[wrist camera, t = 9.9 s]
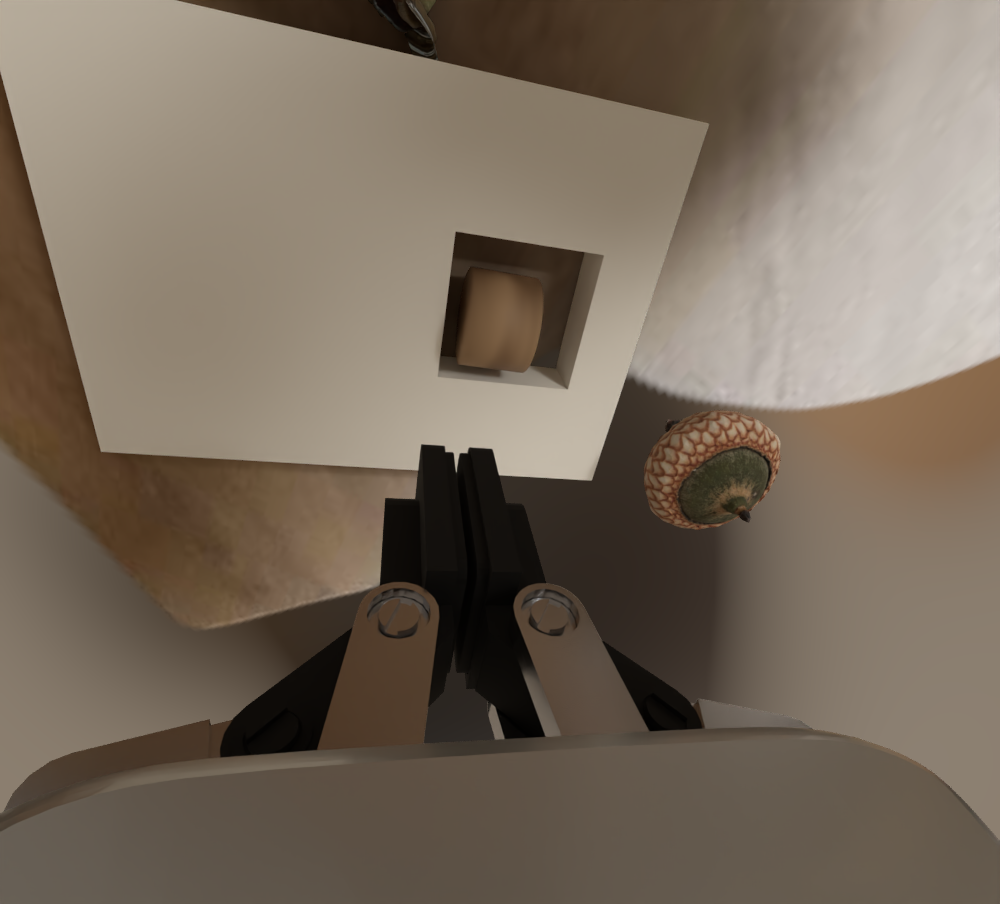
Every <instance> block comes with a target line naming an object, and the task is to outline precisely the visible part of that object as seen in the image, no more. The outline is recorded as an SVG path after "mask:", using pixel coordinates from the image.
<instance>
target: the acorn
mask: <svg viewBox="0 0 1000 904" xmlns="http://www.w3.org/2000/svg"><path fill="white" fill-rule="evenodd" d="M666 422H667V426H665V429H666V431H667V433H665V434H664V435H662V436H661V437H660V439H659V440H658V442H657V444H656V445H655V446H654V447H653V448H652V450H651V452H650V454H649V456H648V459H647V461H646V463H645V466H644V486H645V491H646V494H647V498H648V501H649V505H650V508H651V510H652V511H653V513H654V514H656V515H657V516H658V517H659V518H661V519H662V520H663V521H664V522H668V523H670V524H673V525H675V526H678V527H682V528H692V529H696V530H699V529H701V528H707V527H718V526H720V525H723V524H726V523H728V522H729V521H731V520H734V519H736V518H738V517H740V518H741V519H742V520H744V521H746V522H749V521H750V514H749V511H750V510H752V509H753V507H754V506H755V505H756V504H758V503H759V502H760V501H761V500H762V499H763V498H764V497H765V495H766V493H767V492H768V491H769V490H770V487H771V484H772V483H773V482H774V480H775V477H776V474H777V472H778V470H779V465H780V461H781V460H780V441H779V439H778V436H776V435H775V434H774V433H773V432H772V431H771V430H770V429H769V428H768V427H767V426H765V425H764V424H763V423H761V422H760V421H758V420H757V419H755V418H753V417H750V416H747V415H743V414H741V413H739V412H735V411H734V412H731V411H725V410H714V411H709V412H700V413H694V414H693V415H692V416H690V417H687V418H684V419H682V420H681V421H679V420H670V419H669V420H667V421H666Z"/></svg>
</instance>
